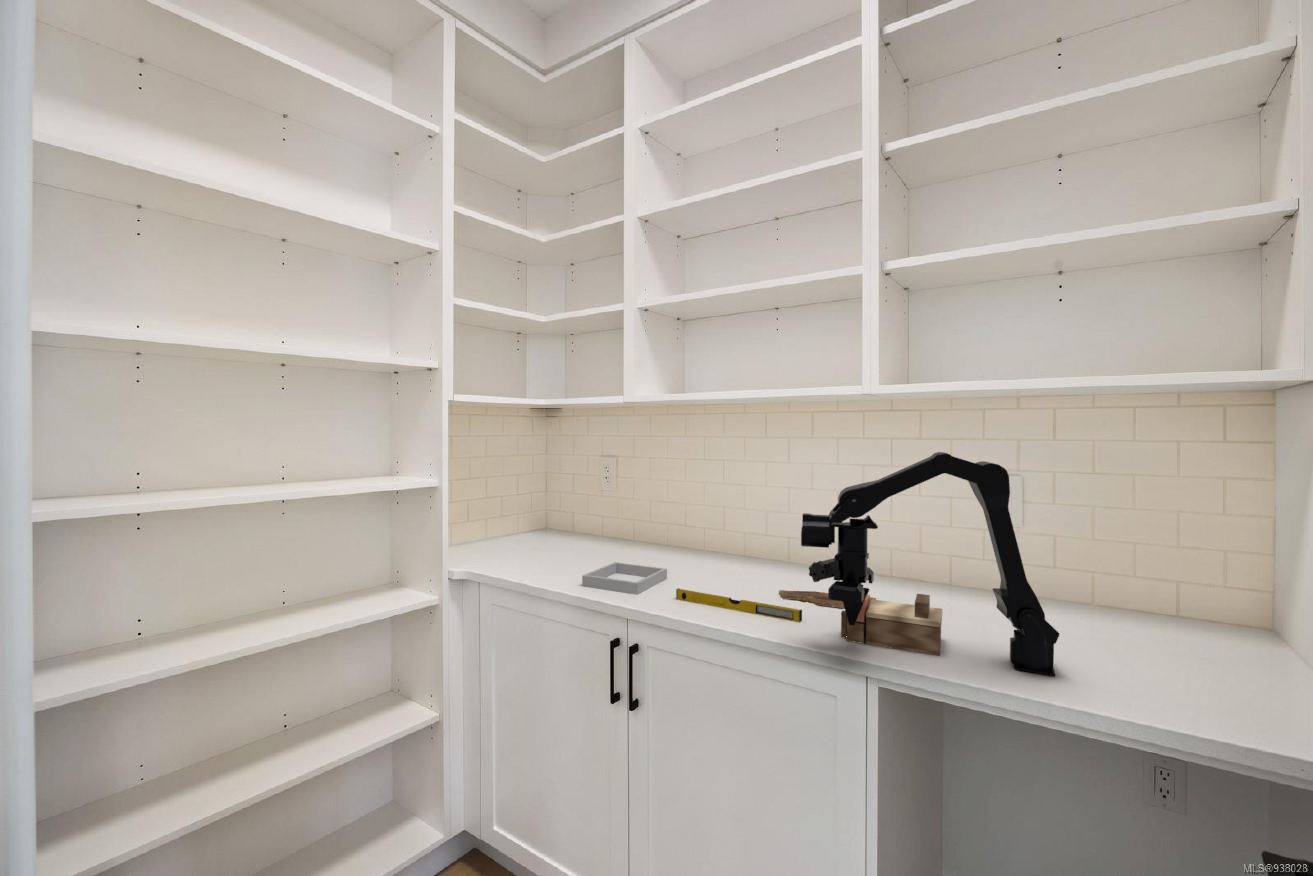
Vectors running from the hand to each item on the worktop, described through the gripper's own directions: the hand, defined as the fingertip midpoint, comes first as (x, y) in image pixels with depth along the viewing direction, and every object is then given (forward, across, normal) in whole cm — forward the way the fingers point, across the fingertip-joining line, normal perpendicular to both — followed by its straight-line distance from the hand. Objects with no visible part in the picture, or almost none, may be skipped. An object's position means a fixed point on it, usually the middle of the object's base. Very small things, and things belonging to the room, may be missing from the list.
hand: (851, 624), depth 121 cm
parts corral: (+5, -23, -67) cm, 71 cm away
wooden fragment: (+6, -32, -12) cm, 34 cm away
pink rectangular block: (+1, -9, 0) cm, 9 cm away
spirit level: (+6, -14, -30) cm, 34 cm away
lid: (-1, -10, +9) cm, 14 cm away
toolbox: (+5, -15, +7) cm, 17 cm away
